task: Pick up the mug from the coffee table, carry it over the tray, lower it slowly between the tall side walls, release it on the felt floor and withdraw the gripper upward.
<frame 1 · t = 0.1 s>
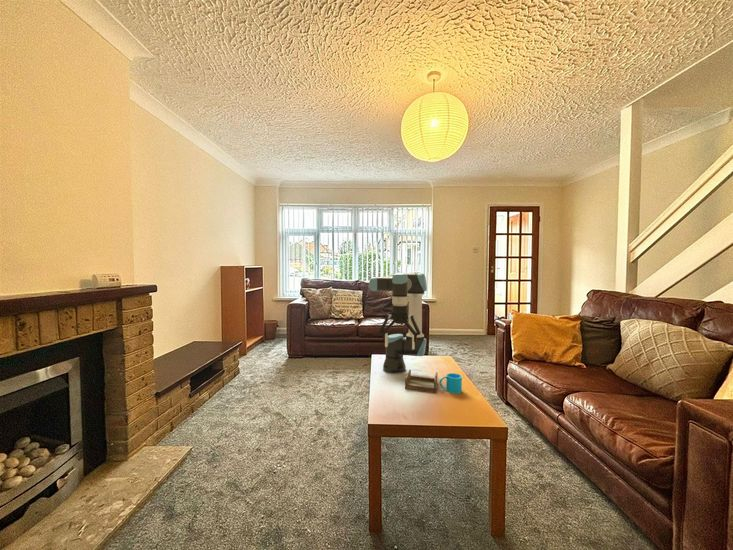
hand: (399, 347, 147), 28 cm above the table, fingers open, 13 cm apart
mug: (450, 390, 165), on the table
tray: (421, 385, 171), on the table
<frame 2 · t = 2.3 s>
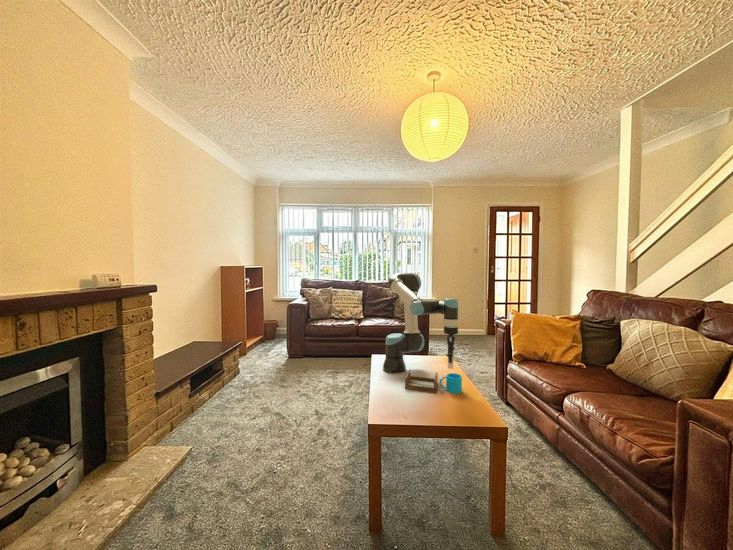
hand: (450, 364, 164), 14 cm above the table, fingers open, 13 cm apart
nothing on the table moved.
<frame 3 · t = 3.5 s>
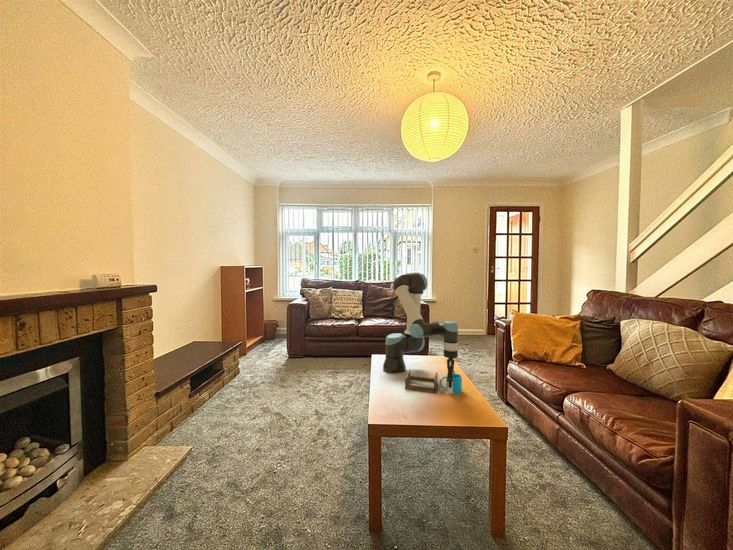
hand: (450, 388, 165), 1 cm above the table, fingers open, 12 cm apart
nothing on the table moved.
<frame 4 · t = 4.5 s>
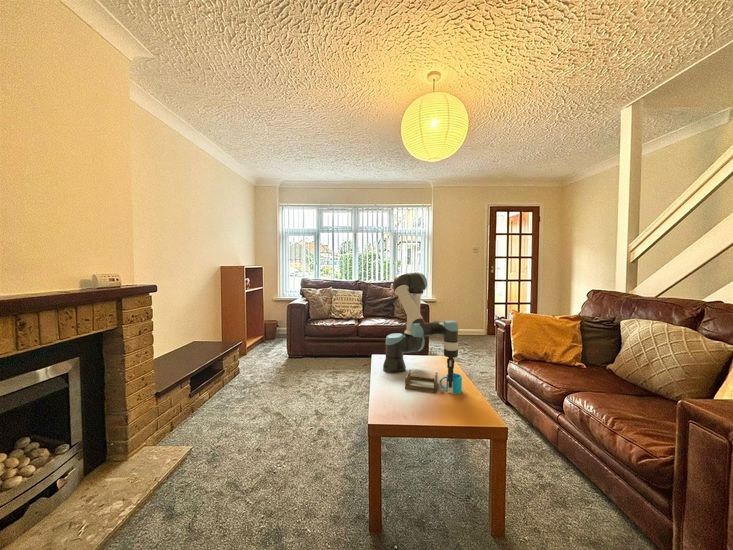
hand: (450, 389, 165), 0 cm above the table, fingers open, 8 cm apart
mug: (450, 390, 164), on the table, touching gripper
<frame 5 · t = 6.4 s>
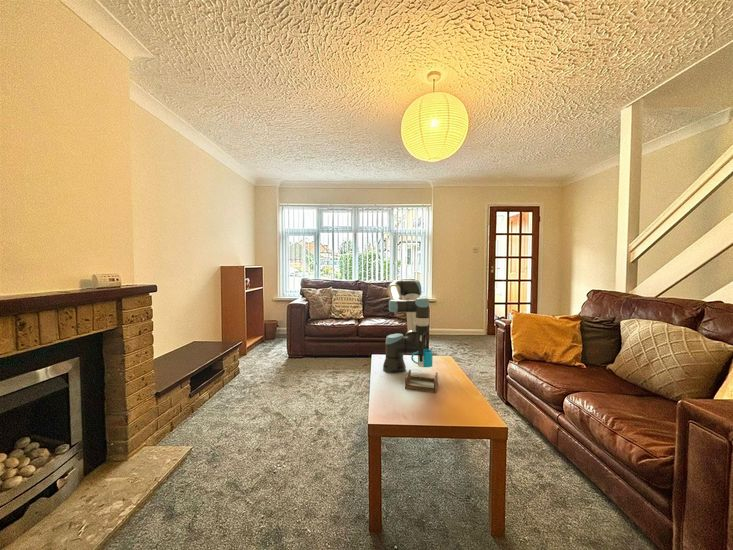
hand: (422, 364, 171), 12 cm above the table, fingers closed on mug, 8 cm apart
mug: (421, 365, 170), point 12 cm above the table, touching gripper
when the fingers open (2 cm above the table, at t = 8.2 s): mug stays where it is, resting on tray.
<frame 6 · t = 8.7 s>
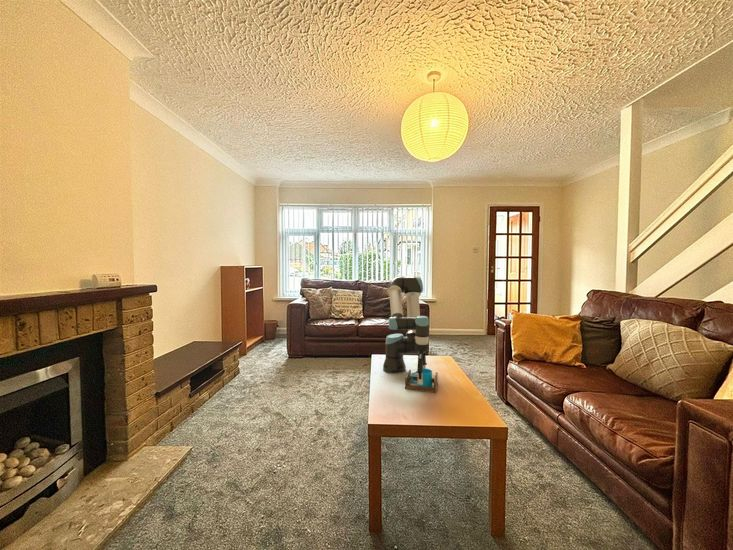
hand: (421, 380, 171), 3 cm above the table, fingers open, 13 cm apart
mug: (421, 385, 171), resting on tray
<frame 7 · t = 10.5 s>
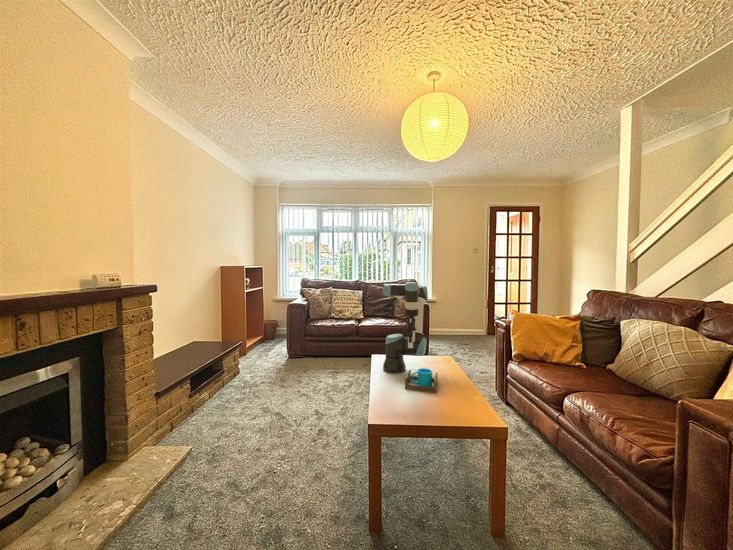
hand: (411, 344, 174), 23 cm above the table, fingers open, 13 cm apart
nothing on the table moved.
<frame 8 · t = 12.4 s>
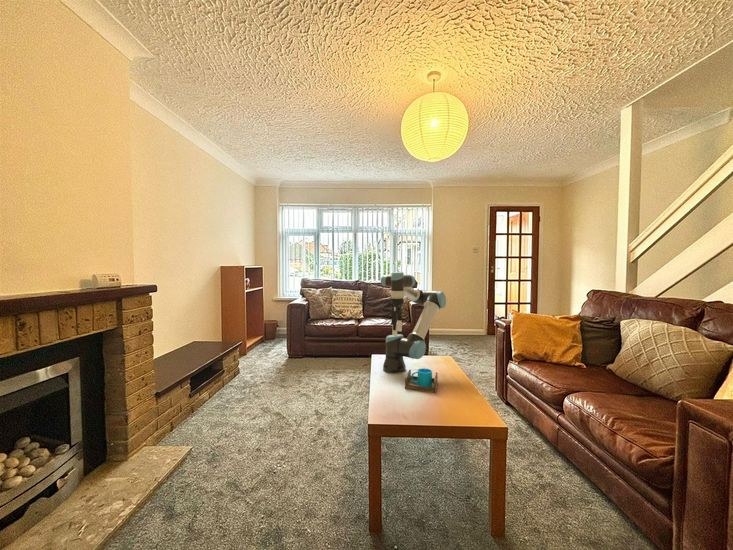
hand: (397, 333, 177), 29 cm above the table, fingers open, 13 cm apart
nothing on the table moved.
at the end: mug inside the target area on the tray (0.3 cm from its centre), point 0.4 cm above the tray's base; mug tilted 0°; the gripper is holding nothing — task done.
